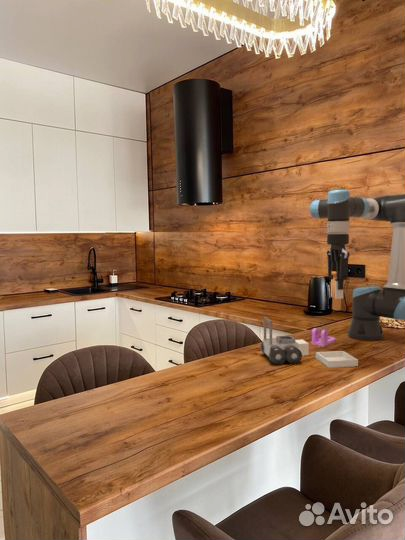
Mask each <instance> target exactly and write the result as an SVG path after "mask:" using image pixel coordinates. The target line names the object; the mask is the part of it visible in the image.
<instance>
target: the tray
mask: <svg viewBox="0 0 405 540" xmlns="http://www.w3.org/2000/svg"><path fill="white" fill-rule="evenodd" d="M315 360H317V361H318V362H319V363H320V364H322V365H324V367H326V368H327V369H337V368H338V369H339V368H352V367H353V368H354V367H355V366H357V367H358V366H359V359H358V358H356V357H354V356H353V355H351V354H350V353H348V352H346V351H344V350H337V351H336V350H335V351H317V352H315ZM355 368H356V367H355Z"/></svg>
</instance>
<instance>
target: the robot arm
mask: <svg viewBox="0 0 405 540" xmlns="http://www.w3.org/2000/svg"><path fill="white" fill-rule="evenodd" d="M309 213H310V216H311V217H312V218H314V219H322V220H323V219H327V224H326V228H327V233H328V234H327V235H326V238H327V239H326V243H327V244H328V245H330V248H329V250H327V251H326V255H327V256H326V257H327V277H329V278H330V297H331V298H333V275H332V271H336V273H337V279H335V299H341V300H342V299H344V282H345V280H348V272H349V271H348V270H349V269H348V268H349V259H350V252H349V251H348V252H347V250H346V245H348V244H349V243H350V241H349V240H350V235H349V234H348V233H349V232H350V219H358V218H359V219H364V220H366V221H375V222H376V221H377V222H384V223H387V222H388V223H389V222H390V223H389V225H390V226H391V227H392V228H393V229H392V239H391V240H392V241H391V248H390V255H389V256H390V258H389V265H388V276H387V282H386V284H384V285H383V286H382V289H381V286H364V287H356V288H354V289H353V291H352V320H351V322H350V325H349V327H348V330H347V336H348V337H349V338H350V339H354V340H358V341H371V342H373V341H374V342H375V341H382V340H383V339H384V330H383V328H382V325H381V320H380V319H381V318H386V319H392V320H396V321H405V193H402V194H401V193H400V194H392V195H390V194H389V195H382V196H378V197H377V196H376V197H370V198H369V197H367V198H365V197H361V196H355V197H354V196H351V192H350V190H349V189H335V190H334V189H333V190H330V191H329V192H328V194H327V199H326V198H325V199H315V200H313V201H312V202H311V204H310V206H309Z"/></svg>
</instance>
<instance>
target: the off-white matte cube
mask: <svg viewBox="0 0 405 540" xmlns="http://www.w3.org/2000/svg"><path fill="white" fill-rule="evenodd" d="M295 341H296V342H297V343H298V344H299V350H300V351H301V353H302V357H305V356H304V355H307V356H309V342H308V341H305V340H304V339H302V338H301V339H295Z"/></svg>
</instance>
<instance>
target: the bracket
mask: <svg viewBox="0 0 405 540" xmlns="http://www.w3.org/2000/svg"><path fill="white" fill-rule="evenodd" d="M333 343H336V337H334V336H329V331H328V330H327V329H321V332H320V331H319V328H317V327H314V328H312V330H311V345H312V344H313V346H317V345H318V347H322V348H323V347H327V346H329V345H331V344H333Z"/></svg>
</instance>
